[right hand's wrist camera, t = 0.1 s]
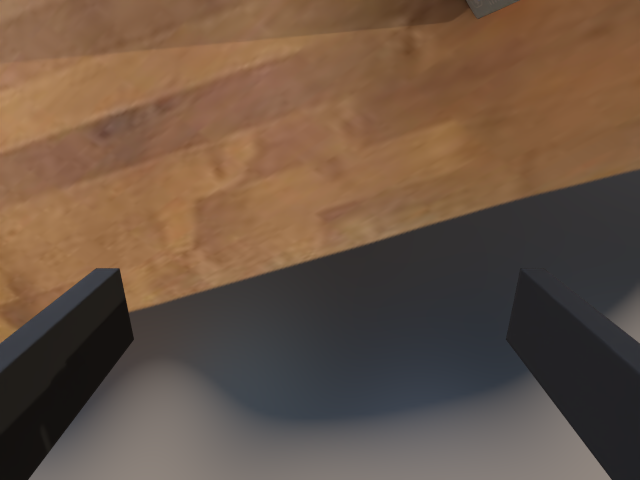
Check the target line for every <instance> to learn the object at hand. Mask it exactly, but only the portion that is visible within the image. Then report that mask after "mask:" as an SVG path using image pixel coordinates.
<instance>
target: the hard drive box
mask: <svg viewBox="0 0 640 480" xmlns="http://www.w3.org/2000/svg"><path fill="white" fill-rule="evenodd" d="M466 1H467V3H468V5H469V7H470V8H471V10H472V12H473V13H474V15H475V16H476V18H478V19H479V18H481V17H483V16H486V15H488V14H490V13H493V12H495V11H497V10H500V9H502V8H504V7H506V6H508V5H510V4H513V3H515V2H517V1H519V0H466Z"/></svg>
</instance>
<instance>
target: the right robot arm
mask: <svg viewBox="0 0 640 480" xmlns="http://www.w3.org/2000/svg"><path fill="white" fill-rule="evenodd" d="M133 340H134V337H133V333H132V328H131V323H130V318H129V313H128V308H127V303H126V298H125V293H124V288H123V283H122V278H121V273H120V269H119V268H96V269H95V270H93V271H92V272H91V273H90V274H88V275H87V276H86V277H85V278H83V279H82V280H81V281H79V282H78V283H77V284H76V285H74V286H73V287H72V288H71V289H69V290H68V291H67V292H65V293H64V294H63V295H62V296H60V297H59V298H58V299H56V300H55V301H54V302H53V303H51V304H50V305H49V306H48V307H46V308H45V309H44V310H42V311H41V312H40V313H39V314H37V315H36V316H35V317H34V318H32V319H31V320H30V321H28V322H27V323H26V324H25V325H23V326H22V327H21V328H20V329H18V330H17V331H16V332H14V333H13V334H12V335H11V336H9V337H8V338H7V339H5V340H4V341H3V342H2V343H0V480H28V479H29V478H30V477H31V475H32V474H33V472H34V471H35V470H36V469H37V467H38V466H39V465H40V463H41V462H42V461H43V459H44V458H45V457H46V455H47V454H48V453H49V451H50V450H51V449H52V447H53V446H54V445H55V443H56V442H57V441H58V439H59V438H60V437H61V435H62V434H63V433H64V431H65V430H66V429H67V427H68V426H69V425H70V423H71V422H72V421H73V420H74V418H75V417H76V416H77V414H78V413H79V412H80V410H81V409H82V408H83V406H84V405H85V404H86V402H87V401H88V400H89V398H90V397H91V396H92V394H93V393H94V392H95V390H96V389H97V388H98V386H99V385H100V384H101V382H102V381H103V380H104V378H105V377H106V376H107V374H108V373H109V372H110V370H111V369H112V368H113V366H114V365H115V364H116V363H117V361H118V360H119V359H120V357H121V356H122V355H123V353H124V352H125V351H126V349H127V348H128V347H129V345H130V344H131V343H132V341H133ZM506 340H507V341H508V343H509V344H510V345H511V347H512V348H513V349H514V351H515V352H516V353H517V355H518V356H519V357H520V359H521V360H522V361H523V362H524V364H525V365H526V366H527V368H528V369H529V370H530V372H531V373H532V374H533V376H534V377H535V378H536V380H537V381H538V382H539V384H540V385H541V386H542V388H543V389H544V390H545V392H546V393H547V394H548V396H549V397H550V398H551V400H552V401H553V402H554V404H555V405H556V406H557V408H558V409H559V410H560V412H561V413H562V414H563V416H564V417H565V418H566V420H567V421H568V422H569V424H570V425H571V426H572V427H573V429H574V430H575V431H576V433H577V434H578V435H579V437H580V438H581V439H582V441H583V442H584V443H585V445H586V446H587V447H588V449H589V450H590V451H591V453H592V454H593V455H594V457H595V458H596V459H597V461H598V462H599V463H600V465H601V466H602V467H603V469H604V470H605V471H606V473H607V474H608V475H609V477H610V478H611V479H612V480H640V343H638V342H637V341H636V340H635V339H633V338H632V337H631V336H629V335H628V334H627V333H626V332H624V331H623V330H622V329H620V328H619V327H618V326H617V325H615V324H614V323H613V322H612V321H610V320H609V319H608V318H606V317H605V316H604V315H603V314H601V313H600V312H599V311H598V310H596V309H595V308H594V307H592V306H591V305H590V304H589V303H587V302H586V301H585V300H583V299H582V298H581V297H580V296H578V295H577V294H576V293H575V292H573V291H572V290H571V289H569V288H568V287H567V286H566V285H564V284H563V283H562V282H561V281H559V280H558V279H557V278H555V277H554V276H553V275H552V274H550V273H549V272H548V271H547V270H545V269H544V268H521V269H520V273H519V278H518V283H517V288H516V293H515V298H514V303H513V308H512V313H511V318H510V323H509V328H508V332H507V338H506Z"/></svg>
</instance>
